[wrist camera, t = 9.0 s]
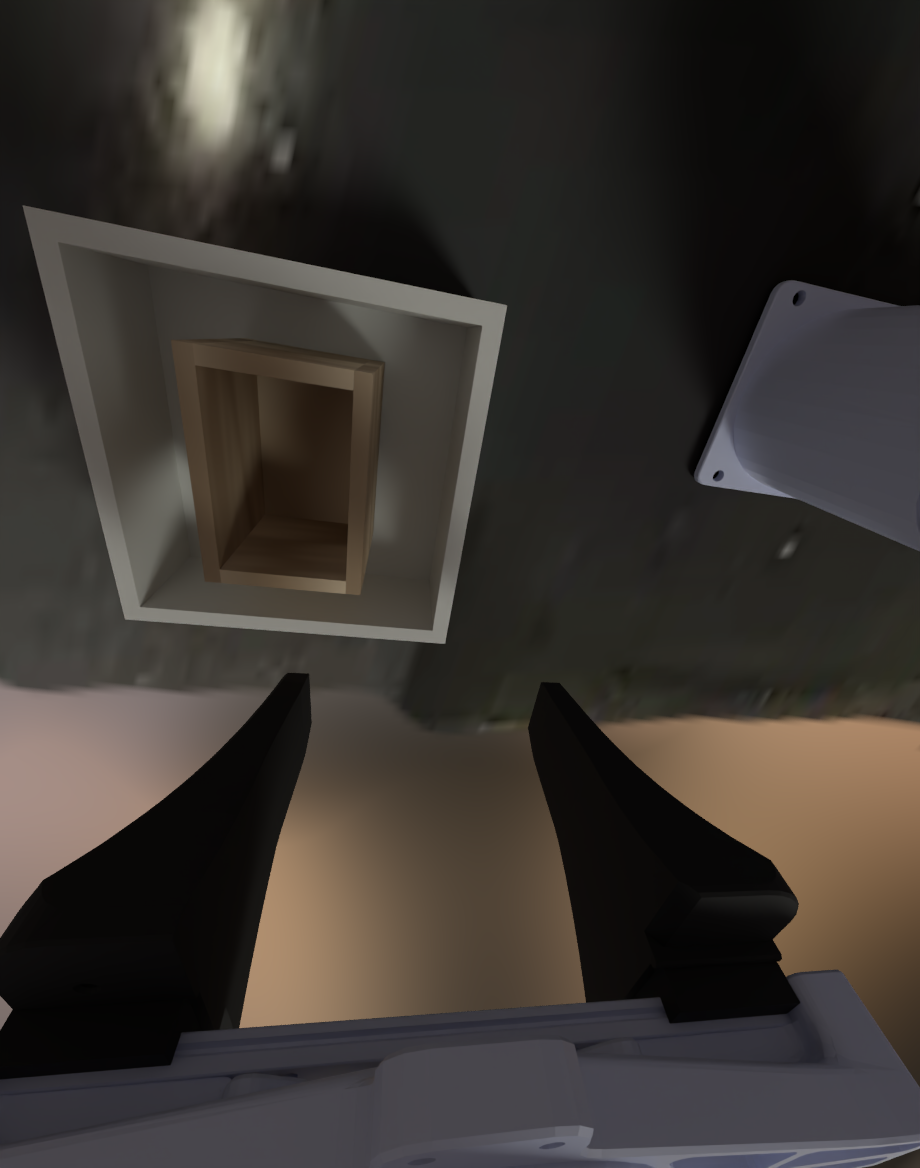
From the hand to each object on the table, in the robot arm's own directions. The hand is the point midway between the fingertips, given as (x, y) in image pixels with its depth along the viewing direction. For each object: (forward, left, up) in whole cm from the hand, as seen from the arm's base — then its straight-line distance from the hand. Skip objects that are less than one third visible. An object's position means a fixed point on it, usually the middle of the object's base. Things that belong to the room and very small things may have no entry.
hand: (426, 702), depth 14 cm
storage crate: (+5, -5, -9) cm, 12 cm away
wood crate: (+5, -5, -9) cm, 11 cm away
